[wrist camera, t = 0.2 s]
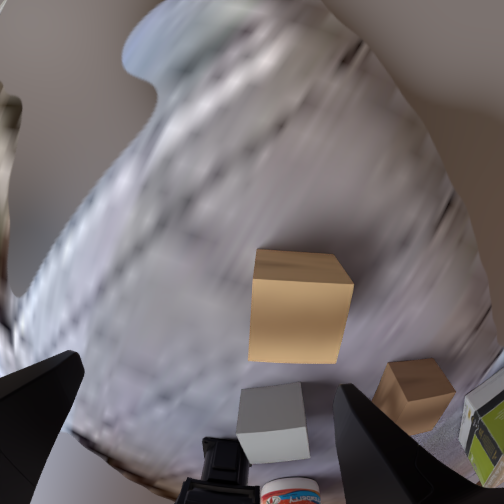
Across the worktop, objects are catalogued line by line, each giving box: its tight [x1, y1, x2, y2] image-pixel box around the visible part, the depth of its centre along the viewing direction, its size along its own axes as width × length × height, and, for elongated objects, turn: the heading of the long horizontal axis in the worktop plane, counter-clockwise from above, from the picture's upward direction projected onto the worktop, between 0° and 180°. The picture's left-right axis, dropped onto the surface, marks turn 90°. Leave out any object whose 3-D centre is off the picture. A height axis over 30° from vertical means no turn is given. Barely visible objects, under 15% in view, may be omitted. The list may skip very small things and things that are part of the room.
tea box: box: [458, 367, 504, 488], centre depth 20 cm, size 15×10×15 cm, turn 26°
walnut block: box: [372, 358, 456, 436], centre depth 23 cm, size 6×6×6 cm
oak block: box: [248, 249, 354, 364], centre depth 20 cm, size 6×6×6 cm
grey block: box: [236, 382, 310, 464], centre depth 24 cm, size 6×6×6 cm
